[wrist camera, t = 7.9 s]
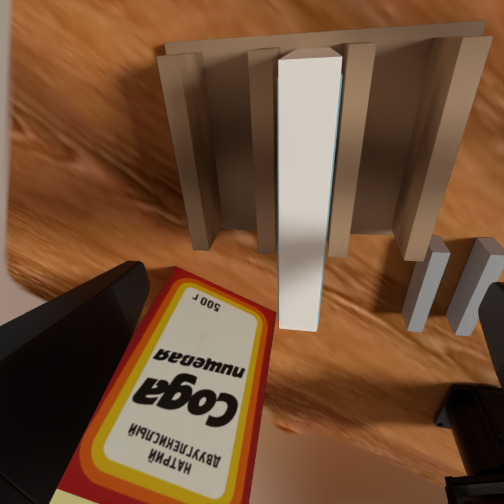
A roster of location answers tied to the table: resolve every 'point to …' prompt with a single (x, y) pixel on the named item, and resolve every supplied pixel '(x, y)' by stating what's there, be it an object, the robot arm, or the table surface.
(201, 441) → the baking soda box
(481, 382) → the table surface
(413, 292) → the stand
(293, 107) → the white slim box
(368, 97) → the rack
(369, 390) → the table surface
